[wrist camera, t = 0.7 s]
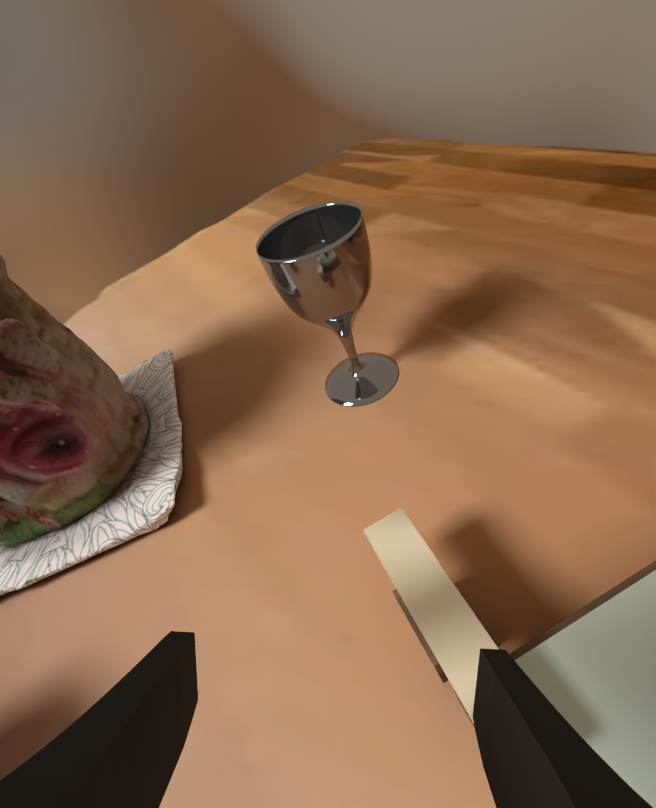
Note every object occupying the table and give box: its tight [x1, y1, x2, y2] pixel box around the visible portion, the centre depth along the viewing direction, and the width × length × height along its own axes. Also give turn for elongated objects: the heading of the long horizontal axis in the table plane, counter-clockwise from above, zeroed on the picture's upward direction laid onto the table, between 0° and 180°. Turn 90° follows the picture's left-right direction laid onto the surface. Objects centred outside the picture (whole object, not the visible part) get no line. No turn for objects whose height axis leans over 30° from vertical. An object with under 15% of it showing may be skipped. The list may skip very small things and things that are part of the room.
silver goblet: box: [256, 201, 398, 407], centre depth 36 cm, size 8×8×15 cm
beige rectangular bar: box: [363, 508, 498, 724], centre depth 21 cm, size 12×2×2 cm, turn 24°
